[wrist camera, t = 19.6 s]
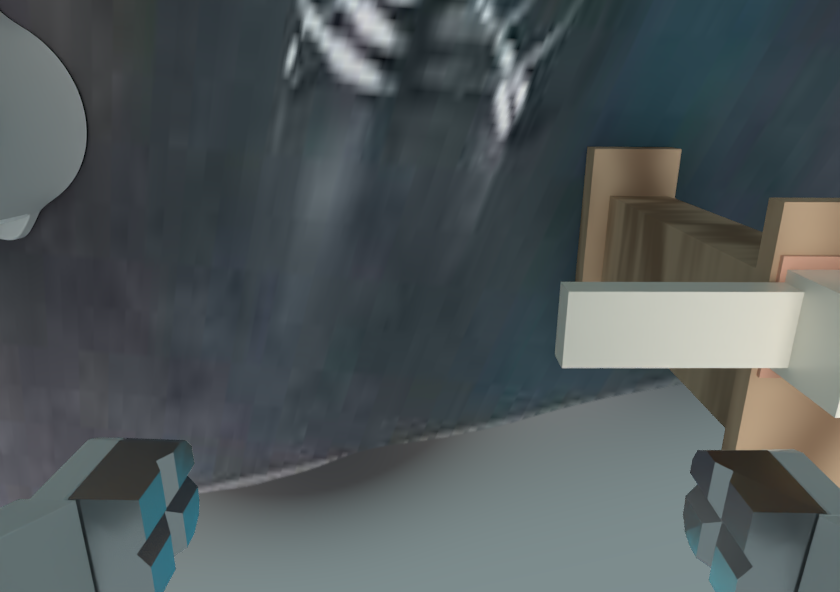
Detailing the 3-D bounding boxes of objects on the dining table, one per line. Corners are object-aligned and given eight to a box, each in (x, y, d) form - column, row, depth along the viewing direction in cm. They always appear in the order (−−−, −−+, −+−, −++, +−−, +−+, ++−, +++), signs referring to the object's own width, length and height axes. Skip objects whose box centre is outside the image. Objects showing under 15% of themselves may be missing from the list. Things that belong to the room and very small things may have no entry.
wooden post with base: (571, 326, 51) (720, 541, 26) (587, 146, 46) (788, 203, 22) (646, 326, 51) (865, 541, 26) (670, 147, 47) (965, 203, 22)
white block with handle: (553, 366, 24) (580, 418, 20) (561, 269, 22) (592, 304, 19) (917, 366, 24) (1012, 417, 20) (945, 270, 23) (1053, 304, 19)
